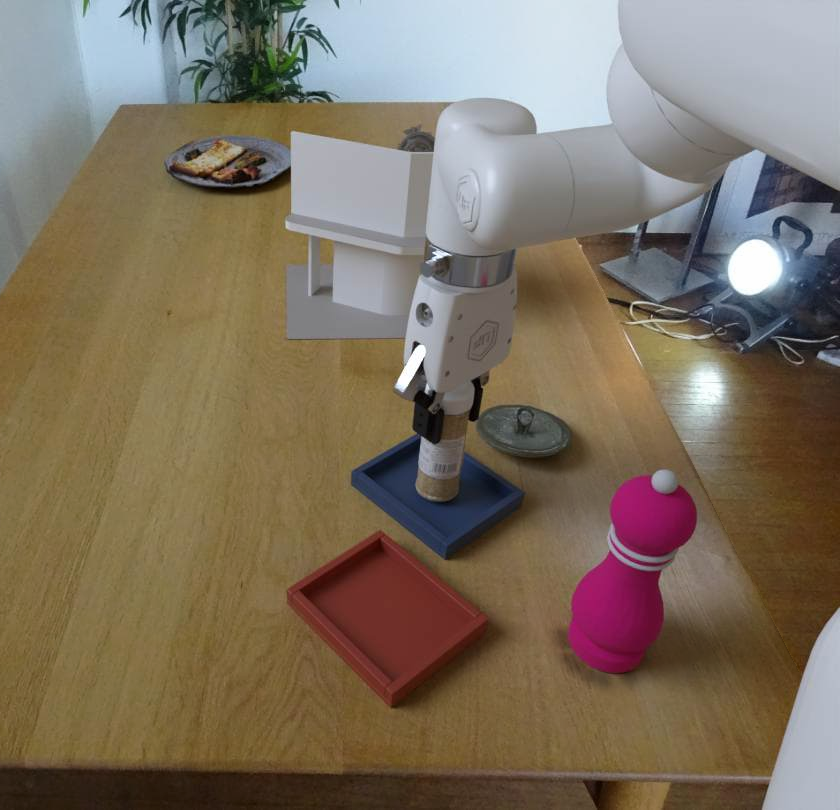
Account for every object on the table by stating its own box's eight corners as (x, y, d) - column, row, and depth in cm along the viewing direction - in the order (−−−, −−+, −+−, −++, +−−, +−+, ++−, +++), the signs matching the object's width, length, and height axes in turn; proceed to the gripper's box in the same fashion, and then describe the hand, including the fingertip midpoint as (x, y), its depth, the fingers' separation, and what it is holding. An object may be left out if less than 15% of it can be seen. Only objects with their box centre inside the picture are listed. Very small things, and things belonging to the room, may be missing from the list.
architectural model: (466, 263, 125) (487, 110, 111) (494, 337, 109) (523, 168, 94) (286, 264, 125) (284, 111, 111) (286, 339, 108) (284, 170, 94)
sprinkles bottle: (460, 478, 85) (477, 374, 77) (455, 507, 82) (473, 402, 74) (417, 470, 86) (429, 367, 78) (410, 499, 83) (423, 394, 74)
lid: (503, 487, 88) (519, 461, 84) (455, 420, 93) (468, 391, 89) (577, 462, 91) (596, 435, 88) (528, 398, 97) (543, 370, 93)
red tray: (485, 632, 71) (489, 618, 70) (390, 708, 65) (392, 694, 64) (379, 543, 79) (380, 529, 78) (286, 603, 74) (286, 588, 72)
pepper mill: (562, 669, 68) (618, 498, 56) (561, 602, 74) (612, 433, 61) (652, 687, 67) (731, 516, 54) (644, 617, 72) (714, 448, 60)
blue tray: (522, 506, 83) (525, 492, 82) (445, 560, 78) (447, 546, 76) (426, 440, 92) (428, 426, 90) (350, 484, 86) (351, 470, 85)
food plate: (243, 206, 142) (242, 187, 140) (141, 179, 152) (139, 161, 150) (315, 161, 159) (315, 143, 157) (219, 140, 169) (218, 123, 167)
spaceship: (394, 166, 136) (440, 149, 134) (389, 120, 166) (426, 105, 164) (408, 209, 140) (453, 193, 138) (401, 156, 169) (438, 142, 167)
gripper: (430, 307, 61) (411, 483, 72) (567, 243, 69) (531, 410, 81) (363, 270, 66) (354, 441, 77) (499, 214, 74) (473, 376, 85)
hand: (445, 423), depth 79 cm, fingers closed on sprinkles bottle, 4 cm apart
